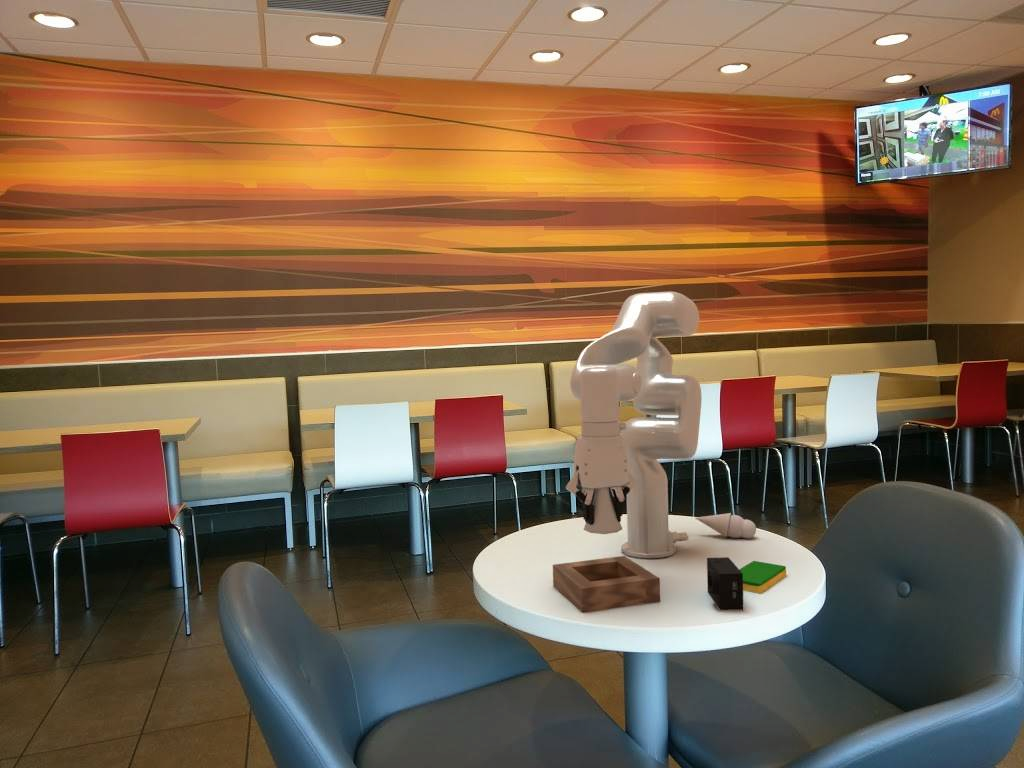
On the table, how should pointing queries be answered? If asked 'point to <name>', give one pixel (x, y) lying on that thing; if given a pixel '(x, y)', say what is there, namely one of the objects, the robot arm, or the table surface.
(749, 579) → the dish sponge
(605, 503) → the flask
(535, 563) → the table surface
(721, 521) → the ice cream cone
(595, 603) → the condiment dock
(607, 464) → the robot arm
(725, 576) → the digital camera
